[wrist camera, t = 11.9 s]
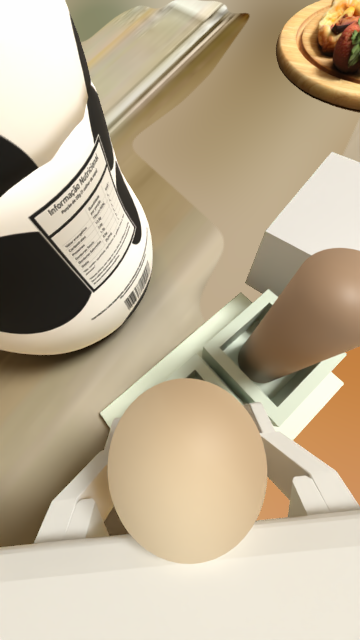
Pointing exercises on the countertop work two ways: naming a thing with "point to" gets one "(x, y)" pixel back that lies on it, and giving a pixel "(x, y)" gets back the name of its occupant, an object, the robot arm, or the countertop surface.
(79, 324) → the milk container
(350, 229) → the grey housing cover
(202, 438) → the beech peg
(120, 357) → the countertop surface
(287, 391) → the pin board
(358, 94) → the wooden plate with food
